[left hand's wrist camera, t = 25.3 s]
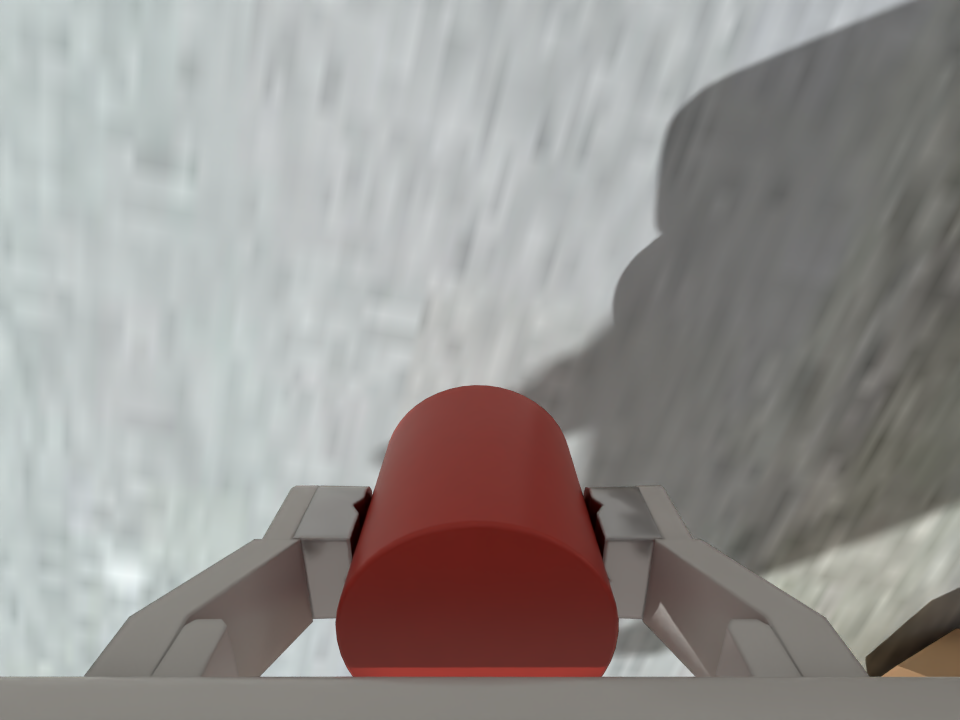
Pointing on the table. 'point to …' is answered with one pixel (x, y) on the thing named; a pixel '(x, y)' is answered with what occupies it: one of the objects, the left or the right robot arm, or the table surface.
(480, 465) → the canister
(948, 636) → the squash
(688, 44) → the table surface
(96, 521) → the table surface
